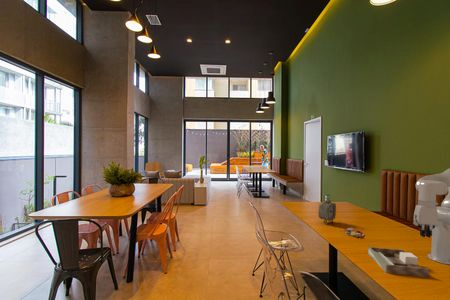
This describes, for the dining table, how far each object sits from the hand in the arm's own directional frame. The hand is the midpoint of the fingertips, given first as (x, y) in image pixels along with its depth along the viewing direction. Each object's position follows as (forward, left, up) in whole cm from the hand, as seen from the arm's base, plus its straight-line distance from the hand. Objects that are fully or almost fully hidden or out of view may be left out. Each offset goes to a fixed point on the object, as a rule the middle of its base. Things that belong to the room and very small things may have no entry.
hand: (425, 236), depth 136 cm
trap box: (+15, 0, -17) cm, 22 cm away
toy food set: (+22, -46, -18) cm, 54 cm away
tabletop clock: (+36, -70, -17) cm, 81 cm away
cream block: (+8, 0, -15) cm, 17 cm away
